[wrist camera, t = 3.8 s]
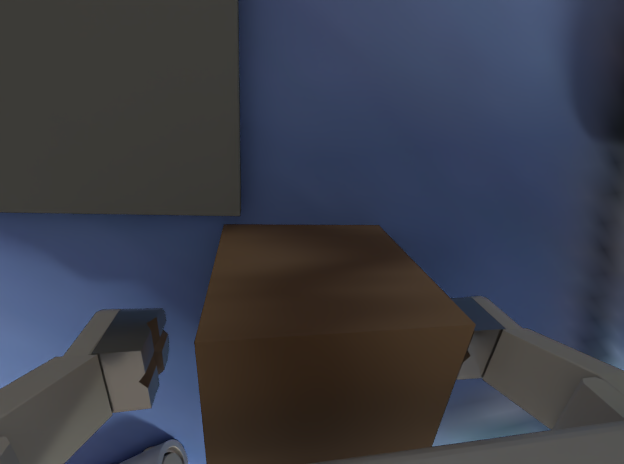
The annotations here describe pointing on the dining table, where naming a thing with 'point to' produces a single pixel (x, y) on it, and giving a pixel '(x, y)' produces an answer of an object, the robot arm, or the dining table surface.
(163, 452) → the portable electronic device stand
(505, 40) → the dining table surface
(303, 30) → the dining table surface
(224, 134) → the mat
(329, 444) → the walnut cube
